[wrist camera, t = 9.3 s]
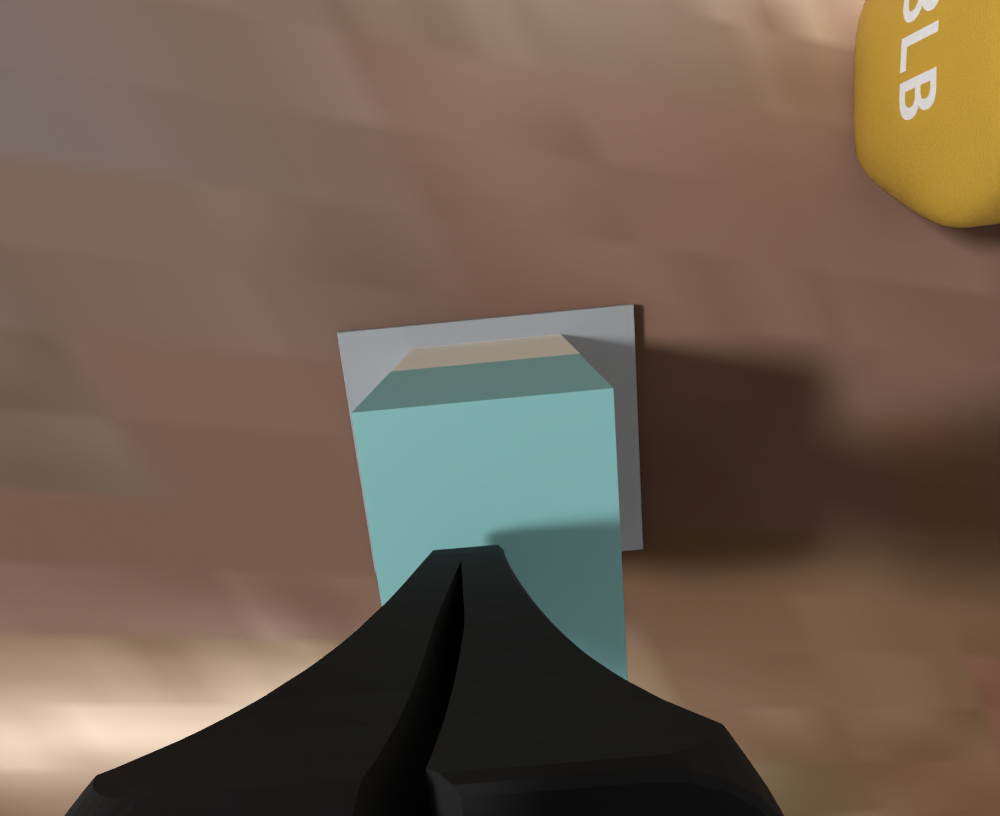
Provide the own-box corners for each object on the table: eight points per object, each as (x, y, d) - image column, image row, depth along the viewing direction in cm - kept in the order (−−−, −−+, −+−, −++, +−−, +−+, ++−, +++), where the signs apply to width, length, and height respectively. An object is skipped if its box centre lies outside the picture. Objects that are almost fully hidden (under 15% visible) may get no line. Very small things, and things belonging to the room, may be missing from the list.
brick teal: (594, 605, 17) (629, 721, 13) (425, 621, 17) (403, 741, 13) (579, 353, 15) (613, 387, 11) (390, 371, 16) (351, 412, 11)
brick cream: (574, 536, 22) (595, 605, 17) (439, 549, 22) (426, 620, 17) (560, 334, 20) (579, 353, 15) (413, 348, 20) (391, 371, 16)
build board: (640, 544, 22) (643, 549, 22) (377, 568, 22) (375, 573, 22) (630, 304, 20) (633, 304, 20) (340, 331, 20) (336, 333, 20)
